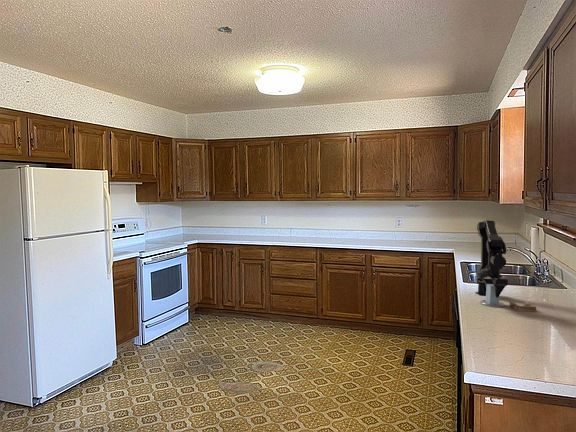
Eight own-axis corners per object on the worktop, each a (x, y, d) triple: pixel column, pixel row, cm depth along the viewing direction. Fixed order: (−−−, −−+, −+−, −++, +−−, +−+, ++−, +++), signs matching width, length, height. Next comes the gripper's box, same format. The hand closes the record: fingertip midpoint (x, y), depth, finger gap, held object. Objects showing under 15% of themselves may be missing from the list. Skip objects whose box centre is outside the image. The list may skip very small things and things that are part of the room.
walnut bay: (509, 306, 220) (509, 302, 220) (526, 306, 220) (527, 302, 220) (518, 310, 212) (518, 306, 212) (536, 311, 212) (536, 307, 212)
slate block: (485, 301, 225) (486, 284, 225) (494, 301, 225) (495, 284, 225) (489, 304, 221) (490, 286, 220) (498, 304, 221) (499, 286, 220)
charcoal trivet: (476, 300, 228) (476, 299, 228) (497, 301, 229) (498, 300, 228) (486, 307, 218) (486, 305, 217) (508, 307, 218) (508, 306, 218)
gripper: (470, 260, 231) (468, 290, 232) (486, 267, 212) (484, 299, 213) (492, 260, 231) (490, 290, 232) (509, 267, 212) (508, 300, 213)
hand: (492, 295), depth 223 cm, fingers open, 9 cm apart
